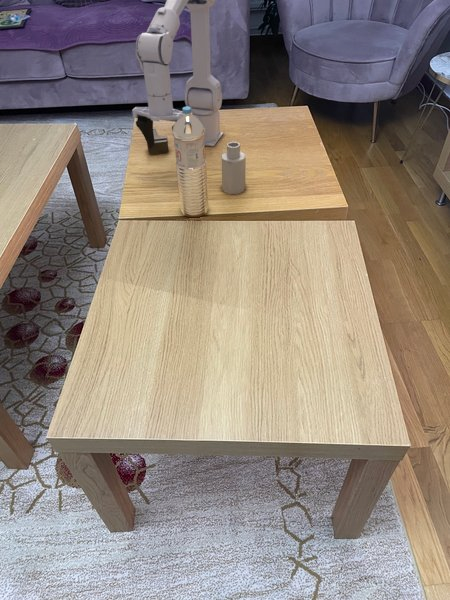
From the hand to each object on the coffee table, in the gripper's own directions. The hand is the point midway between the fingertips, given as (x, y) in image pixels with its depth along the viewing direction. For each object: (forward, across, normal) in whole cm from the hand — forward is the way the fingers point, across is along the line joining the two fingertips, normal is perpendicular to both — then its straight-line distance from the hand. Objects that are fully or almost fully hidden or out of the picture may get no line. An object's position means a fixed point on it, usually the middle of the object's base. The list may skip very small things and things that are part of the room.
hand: (165, 148), depth 113 cm
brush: (+10, -13, +20) cm, 26 cm away
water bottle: (+10, +11, -10) cm, 18 cm away
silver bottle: (+10, +17, +3) cm, 20 cm away
